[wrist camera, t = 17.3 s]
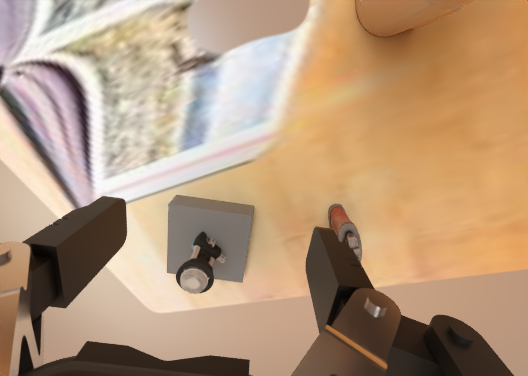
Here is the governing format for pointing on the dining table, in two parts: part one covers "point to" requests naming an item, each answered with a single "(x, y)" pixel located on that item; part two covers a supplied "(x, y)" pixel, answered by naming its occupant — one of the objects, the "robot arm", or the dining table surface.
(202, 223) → the slate stand
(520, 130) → the dining table surface
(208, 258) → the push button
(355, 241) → the lighter
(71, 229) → the robot arm
